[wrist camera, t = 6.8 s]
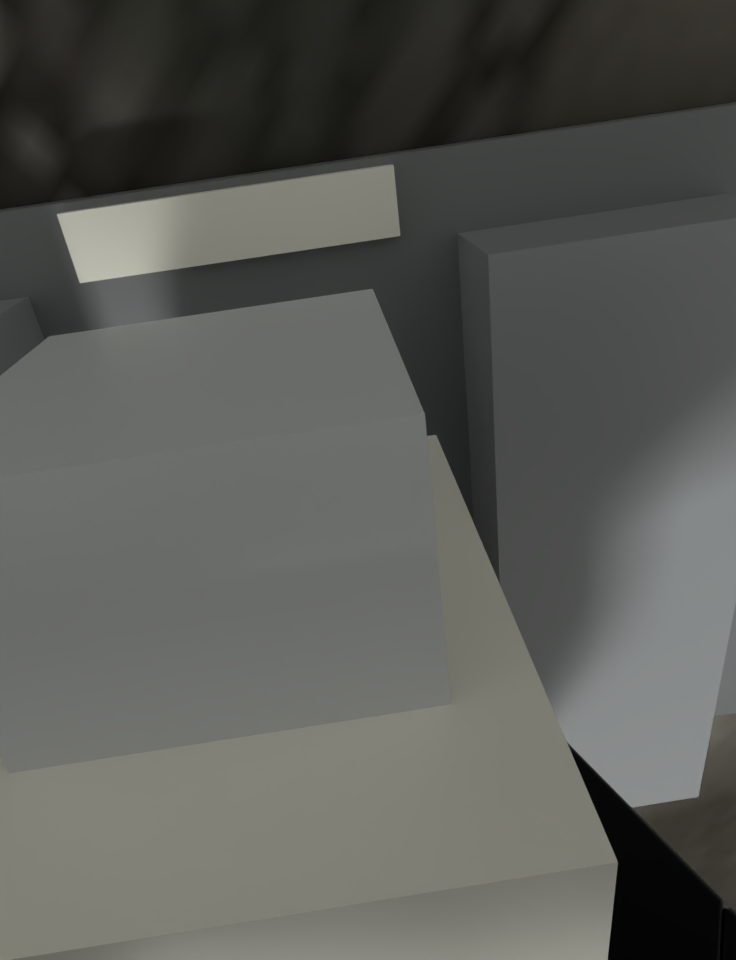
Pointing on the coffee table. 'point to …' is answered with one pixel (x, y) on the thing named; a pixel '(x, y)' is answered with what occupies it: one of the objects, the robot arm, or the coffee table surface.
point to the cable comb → (500, 374)
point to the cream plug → (266, 664)
